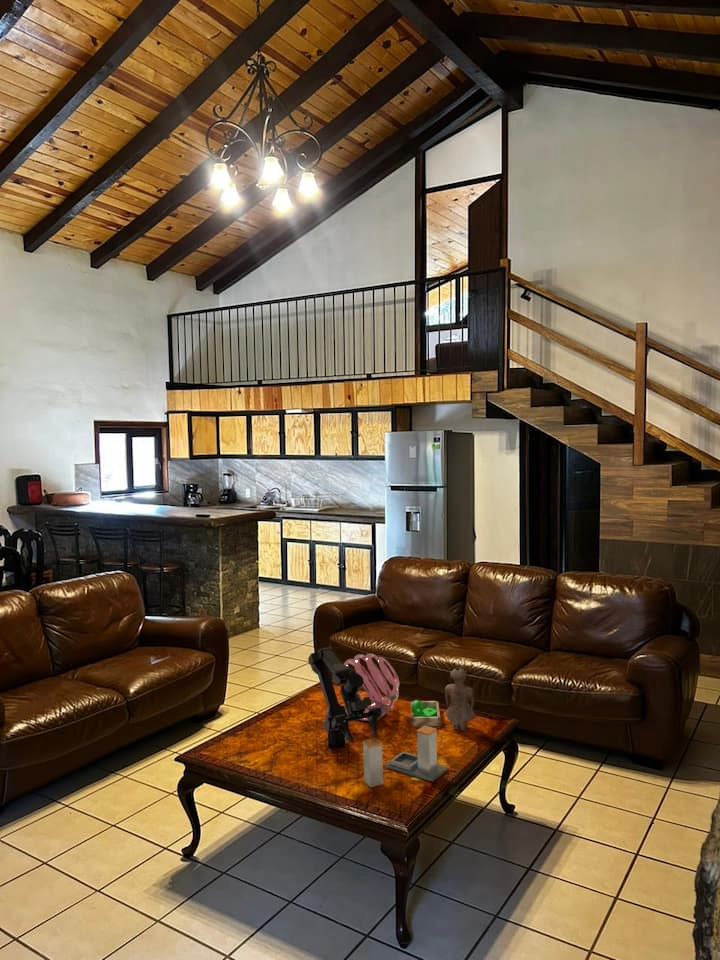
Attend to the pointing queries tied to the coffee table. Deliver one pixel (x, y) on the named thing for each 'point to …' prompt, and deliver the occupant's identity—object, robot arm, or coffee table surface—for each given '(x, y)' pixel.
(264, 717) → the coffee table surface
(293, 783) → the coffee table surface
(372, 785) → the post
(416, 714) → the mechanical part
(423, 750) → the housing
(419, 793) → the coffee table surface
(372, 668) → the spiral basket
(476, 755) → the coffee table surface
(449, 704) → the clay figurine
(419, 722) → the parts corral
